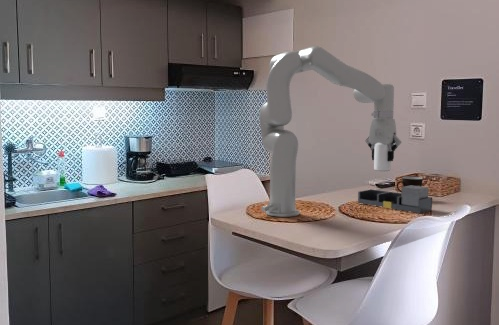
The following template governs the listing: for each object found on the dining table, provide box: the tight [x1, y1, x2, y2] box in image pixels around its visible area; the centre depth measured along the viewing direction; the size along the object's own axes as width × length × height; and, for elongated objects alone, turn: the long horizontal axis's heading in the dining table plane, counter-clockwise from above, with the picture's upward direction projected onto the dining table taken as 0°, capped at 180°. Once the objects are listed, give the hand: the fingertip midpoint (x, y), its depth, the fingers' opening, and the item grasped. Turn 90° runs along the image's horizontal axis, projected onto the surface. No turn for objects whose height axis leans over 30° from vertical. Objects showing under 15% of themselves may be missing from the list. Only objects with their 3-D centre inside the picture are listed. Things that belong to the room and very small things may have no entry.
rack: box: [357, 185, 433, 214], centre depth 203 cm, size 10×28×9 cm, turn 44°
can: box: [373, 143, 392, 172], centre depth 200 cm, size 6×6×12 cm
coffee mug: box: [396, 176, 424, 193], centre depth 219 cm, size 12×9×10 cm
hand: (382, 160), depth 200 cm, fingers closed on can, 6 cm apart
